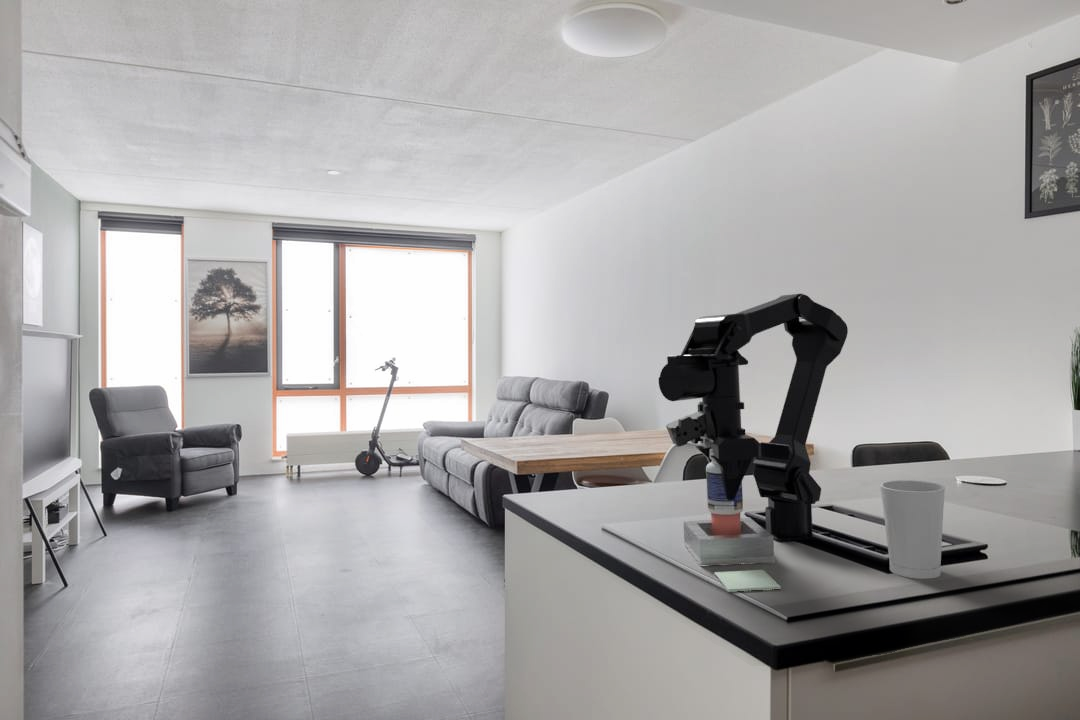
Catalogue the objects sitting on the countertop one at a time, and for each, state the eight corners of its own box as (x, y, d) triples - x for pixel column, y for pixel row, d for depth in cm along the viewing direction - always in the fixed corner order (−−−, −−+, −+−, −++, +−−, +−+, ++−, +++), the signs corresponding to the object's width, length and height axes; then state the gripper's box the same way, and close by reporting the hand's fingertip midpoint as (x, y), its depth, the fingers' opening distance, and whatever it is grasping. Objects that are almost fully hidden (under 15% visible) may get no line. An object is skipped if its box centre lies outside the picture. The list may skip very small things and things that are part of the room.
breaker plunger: (736, 528, 112) (735, 507, 112) (744, 535, 108) (743, 514, 107) (708, 529, 112) (707, 509, 112) (716, 537, 107) (715, 515, 107)
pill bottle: (744, 515, 107) (742, 452, 106) (708, 515, 108) (705, 452, 107) (741, 507, 112) (739, 446, 112) (707, 507, 113) (704, 447, 113)
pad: (763, 572, 100) (763, 569, 100) (780, 589, 93) (780, 586, 93) (714, 575, 100) (714, 572, 100) (728, 592, 93) (728, 589, 93)
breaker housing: (751, 542, 115) (750, 518, 115) (774, 562, 104) (773, 536, 104) (684, 545, 115) (683, 521, 115) (700, 566, 104) (699, 539, 104)
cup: (871, 564, 102) (868, 482, 101) (923, 560, 102) (921, 478, 102) (904, 582, 94) (901, 493, 94) (961, 578, 94) (958, 489, 94)
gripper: (658, 394, 118) (662, 486, 119) (682, 403, 100) (687, 512, 100) (723, 390, 119) (728, 482, 119) (760, 399, 100) (764, 508, 100)
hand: (725, 495), depth 110 cm, fingers closed on pill bottle, 5 cm apart
